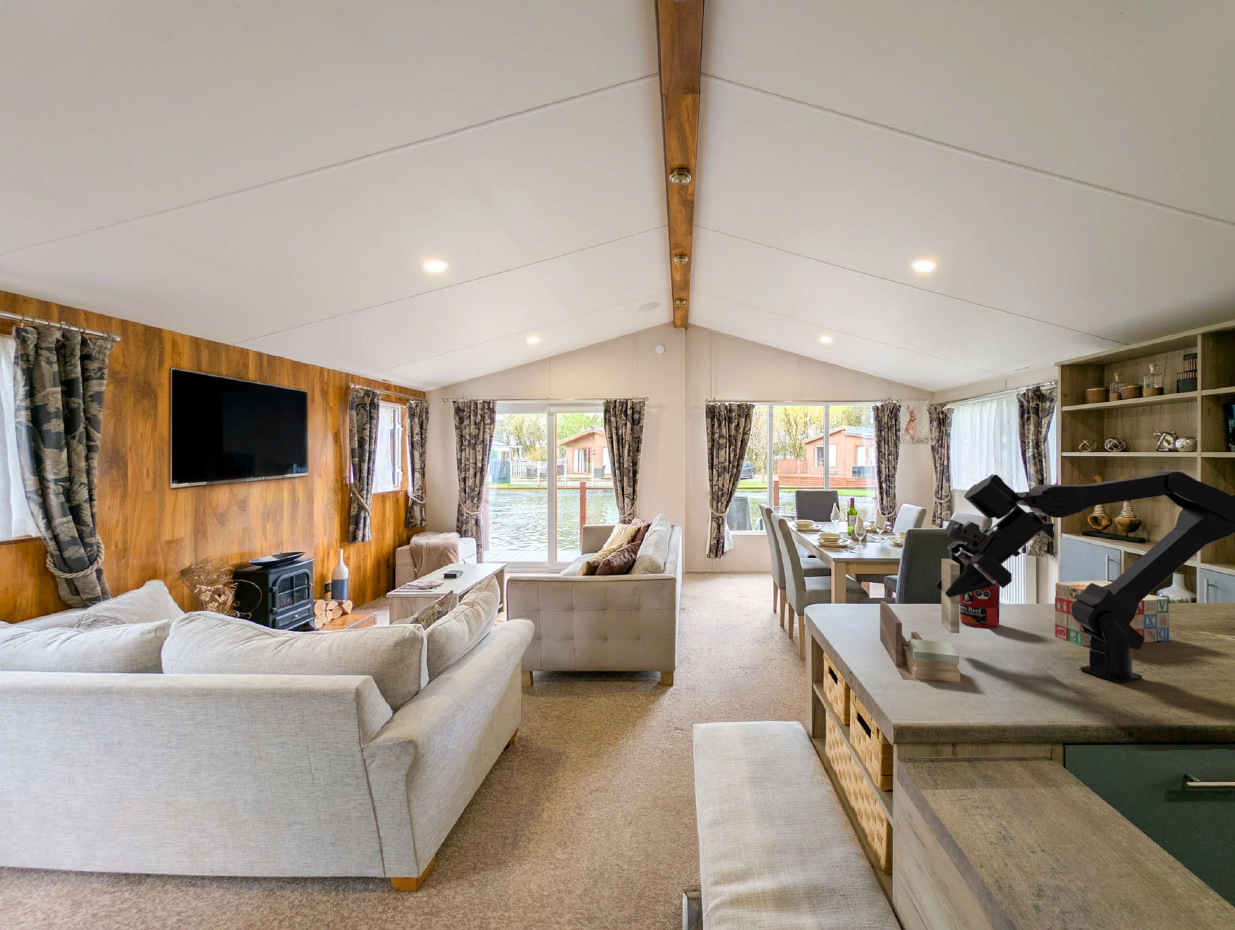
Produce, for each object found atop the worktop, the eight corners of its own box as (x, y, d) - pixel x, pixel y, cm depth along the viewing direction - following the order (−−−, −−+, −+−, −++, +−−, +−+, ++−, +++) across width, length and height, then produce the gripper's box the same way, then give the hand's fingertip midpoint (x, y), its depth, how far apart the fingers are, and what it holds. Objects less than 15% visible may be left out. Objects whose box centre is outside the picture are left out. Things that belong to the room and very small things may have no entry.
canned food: (952, 621, 137) (952, 575, 137) (977, 618, 140) (977, 573, 140) (981, 630, 130) (981, 582, 130) (1007, 627, 132) (1007, 579, 132)
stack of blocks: (1139, 633, 128) (1140, 578, 128) (1169, 642, 122) (1170, 584, 122) (1054, 637, 125) (1054, 581, 125) (1080, 646, 119) (1081, 587, 119)
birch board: (949, 624, 113) (950, 558, 113) (959, 633, 107) (959, 564, 107) (941, 623, 113) (941, 558, 113) (950, 632, 108) (950, 564, 107)
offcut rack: (935, 650, 116) (936, 604, 116) (971, 694, 95) (972, 637, 95) (880, 646, 119) (880, 601, 119) (902, 687, 98) (903, 632, 98)
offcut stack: (948, 665, 104) (948, 640, 104) (963, 682, 96) (963, 656, 96) (901, 661, 106) (901, 637, 106) (912, 678, 98) (912, 652, 98)
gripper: (958, 502, 118) (899, 553, 121) (991, 510, 100) (921, 570, 103) (1001, 541, 116) (941, 592, 119) (1043, 557, 98) (970, 616, 101)
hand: (942, 591), depth 111 cm, fingers closed on birch board, 6 cm apart
